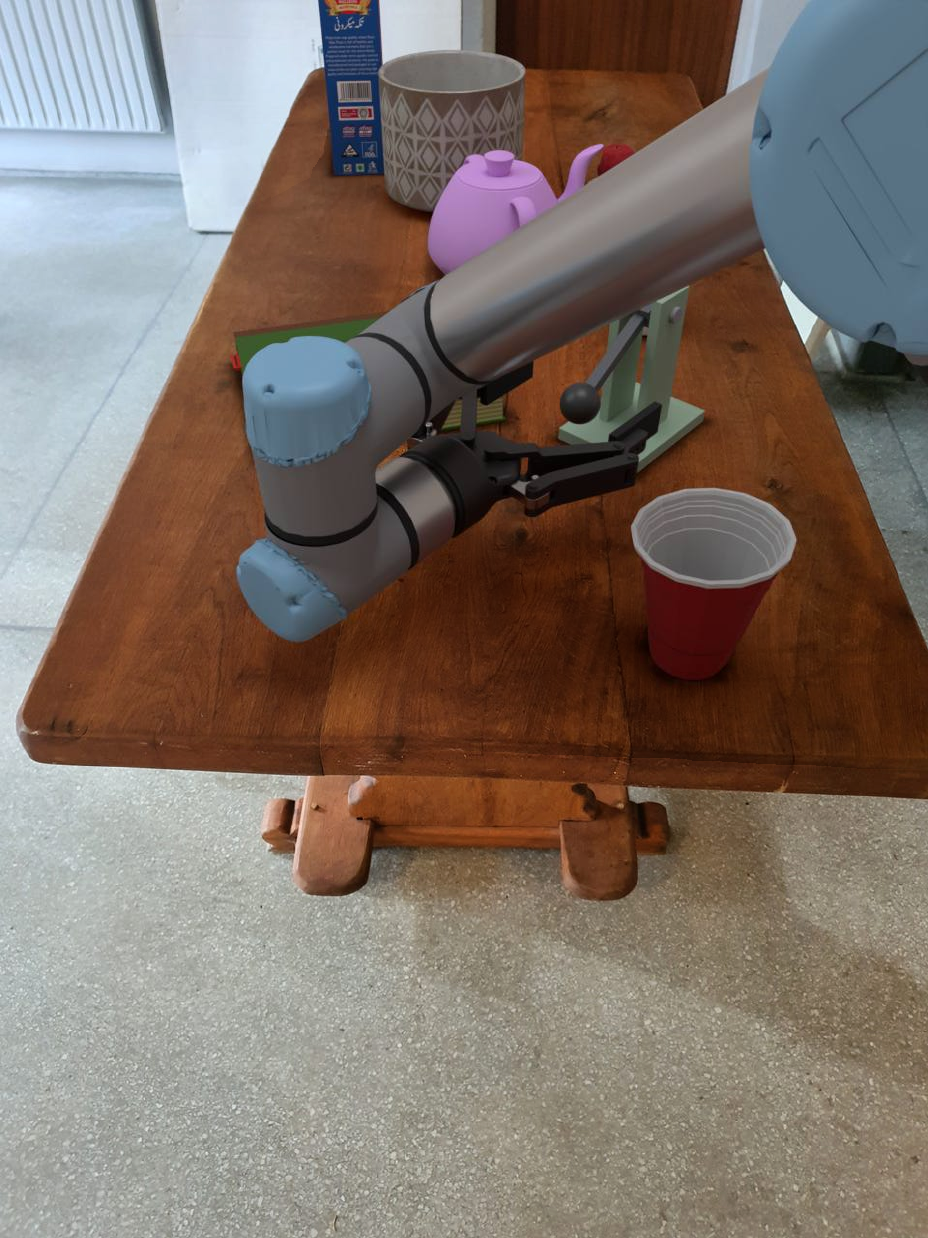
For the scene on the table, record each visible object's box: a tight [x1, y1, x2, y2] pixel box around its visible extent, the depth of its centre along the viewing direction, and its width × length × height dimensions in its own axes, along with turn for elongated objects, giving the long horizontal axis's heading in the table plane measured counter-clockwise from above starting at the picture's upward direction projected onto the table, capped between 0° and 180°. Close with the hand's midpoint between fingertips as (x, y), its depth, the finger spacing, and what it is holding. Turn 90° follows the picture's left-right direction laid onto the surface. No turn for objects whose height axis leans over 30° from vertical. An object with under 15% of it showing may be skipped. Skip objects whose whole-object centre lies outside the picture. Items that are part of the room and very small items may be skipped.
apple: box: [587, 142, 636, 184], centre depth 135 cm, size 8×8×6 cm
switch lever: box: [559, 304, 652, 425], centre depth 83 cm, size 14×4×4 cm, turn 139°
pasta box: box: [317, 0, 384, 176], centre depth 142 cm, size 28×8×28 cm, turn 4°
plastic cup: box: [630, 487, 798, 681], centre depth 67 cm, size 11×11×12 cm
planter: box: [378, 49, 526, 213], centre depth 130 cm, size 19×19×16 cm
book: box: [230, 310, 506, 433], centre depth 97 cm, size 25×19×4 cm
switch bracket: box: [557, 285, 706, 474], centre depth 88 cm, size 12×9×15 cm
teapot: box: [427, 143, 605, 276], centre depth 114 cm, size 22×22×14 cm
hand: (591, 388), depth 83 cm, fingers open, 13 cm apart
